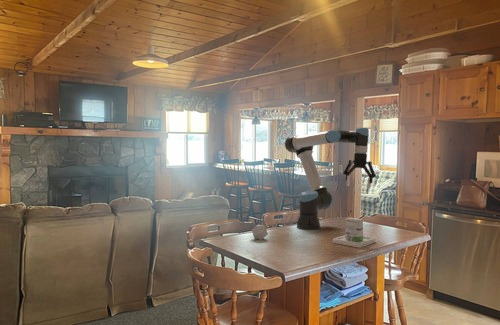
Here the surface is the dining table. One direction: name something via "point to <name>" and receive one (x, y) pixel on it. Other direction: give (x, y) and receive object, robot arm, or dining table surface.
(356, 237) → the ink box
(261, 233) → the die
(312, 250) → the dining table surface
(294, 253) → the dining table surface
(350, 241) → the pin tray
